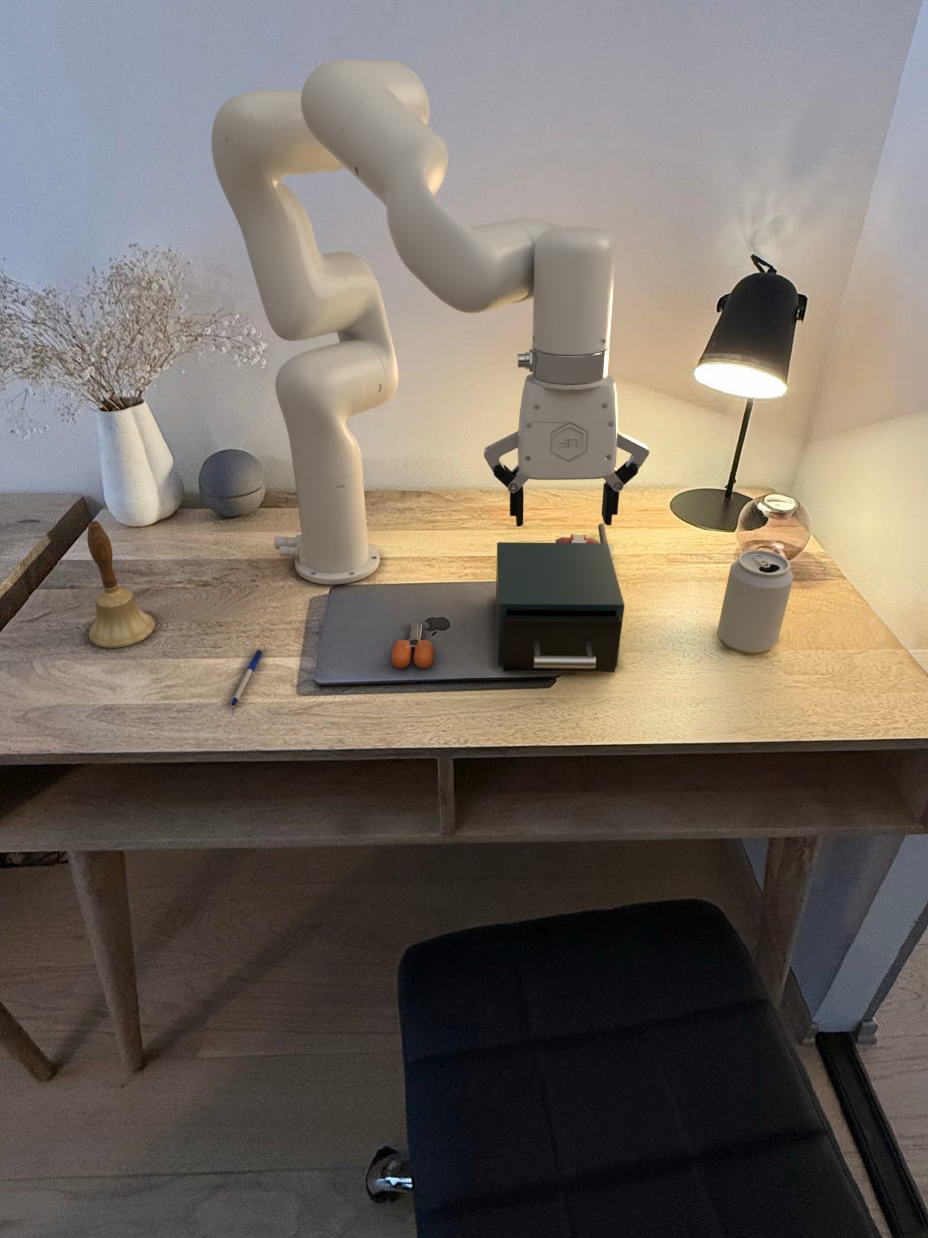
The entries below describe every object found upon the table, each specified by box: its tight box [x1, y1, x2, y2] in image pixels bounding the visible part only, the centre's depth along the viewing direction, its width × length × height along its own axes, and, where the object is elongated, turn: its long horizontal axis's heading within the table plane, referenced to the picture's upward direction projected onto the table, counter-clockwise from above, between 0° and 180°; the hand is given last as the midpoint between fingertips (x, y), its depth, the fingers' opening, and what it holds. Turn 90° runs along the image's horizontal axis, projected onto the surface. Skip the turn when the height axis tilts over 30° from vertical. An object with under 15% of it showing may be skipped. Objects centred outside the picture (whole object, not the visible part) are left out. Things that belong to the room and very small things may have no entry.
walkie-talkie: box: [555, 523, 615, 561], centre depth 123 cm, size 9×4×20 cm
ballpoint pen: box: [231, 649, 262, 706], centre depth 100 cm, size 10×1×1 cm, turn 176°
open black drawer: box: [502, 610, 622, 673], centre depth 102 cm, size 19×14×7 cm
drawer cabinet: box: [495, 541, 625, 668], centre depth 106 cm, size 15×15×9 cm
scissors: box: [390, 622, 435, 669], centre depth 105 cm, size 10×5×2 cm, turn 179°
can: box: [717, 549, 794, 655], centre depth 104 cm, size 8×8×12 cm
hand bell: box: [86, 520, 156, 649], centre depth 105 cm, size 8×8×16 cm
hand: (562, 520), depth 91 cm, fingers open, 9 cm apart
